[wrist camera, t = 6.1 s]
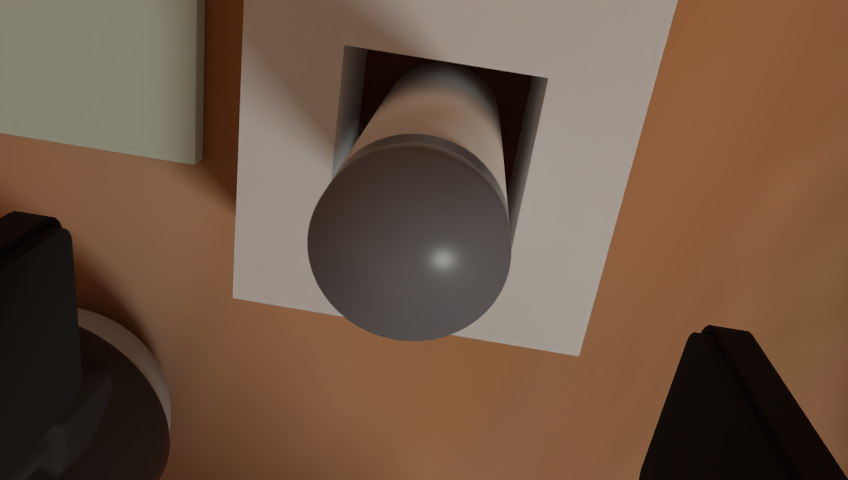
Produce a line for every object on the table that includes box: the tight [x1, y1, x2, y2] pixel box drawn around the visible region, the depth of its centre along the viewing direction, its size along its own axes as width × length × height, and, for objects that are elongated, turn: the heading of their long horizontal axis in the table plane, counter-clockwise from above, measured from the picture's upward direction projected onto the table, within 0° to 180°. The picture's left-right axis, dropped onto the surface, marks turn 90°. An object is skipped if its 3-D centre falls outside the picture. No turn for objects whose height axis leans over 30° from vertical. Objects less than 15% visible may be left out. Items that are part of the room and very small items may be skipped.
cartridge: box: [307, 61, 511, 341], centre depth 20 cm, size 4×4×12 cm
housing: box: [233, 0, 678, 356], centre depth 22 cm, size 18×12×5 cm, turn 172°
